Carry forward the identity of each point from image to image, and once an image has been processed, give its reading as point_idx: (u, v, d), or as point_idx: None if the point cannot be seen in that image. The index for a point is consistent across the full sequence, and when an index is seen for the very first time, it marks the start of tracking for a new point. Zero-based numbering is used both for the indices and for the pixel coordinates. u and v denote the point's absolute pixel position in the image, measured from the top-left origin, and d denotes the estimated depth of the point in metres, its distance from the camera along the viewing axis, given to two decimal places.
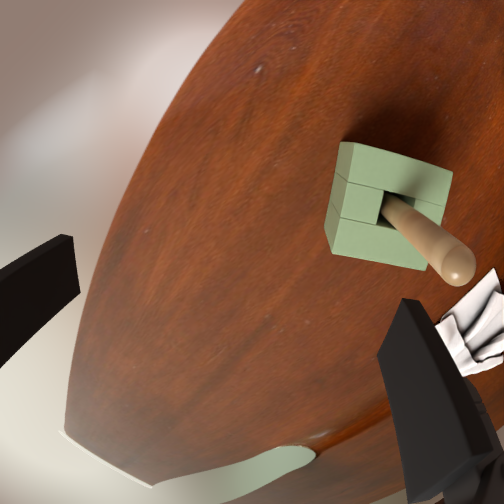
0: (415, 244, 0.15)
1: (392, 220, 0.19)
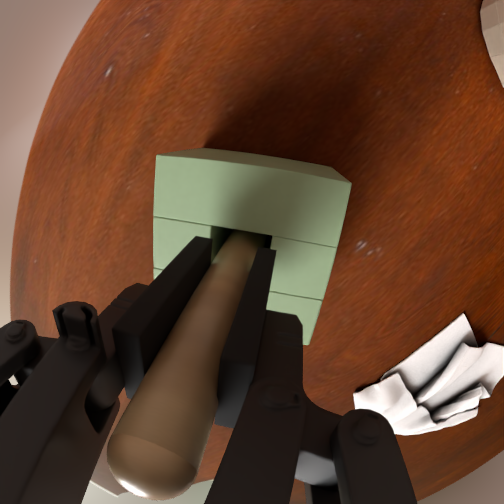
0: None
1: None
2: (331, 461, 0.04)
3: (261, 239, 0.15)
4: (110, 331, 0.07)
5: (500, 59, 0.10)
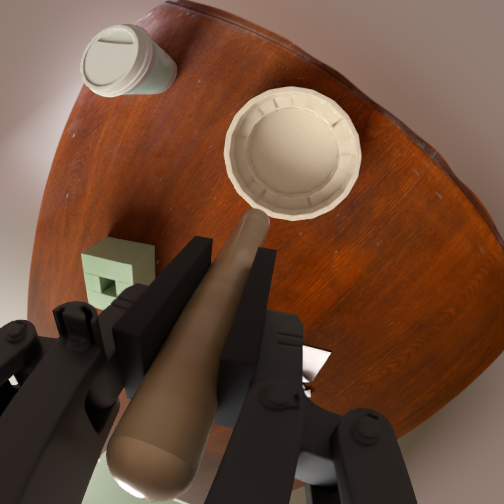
0: None
1: None
2: (331, 461, 0.04)
3: (261, 240, 0.15)
4: (110, 331, 0.07)
5: None
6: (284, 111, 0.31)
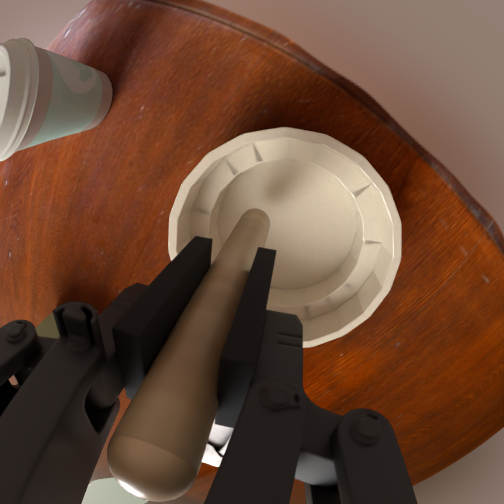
0: None
1: None
2: (331, 461, 0.04)
3: (261, 240, 0.15)
4: (110, 331, 0.07)
5: None
6: (274, 160, 0.20)
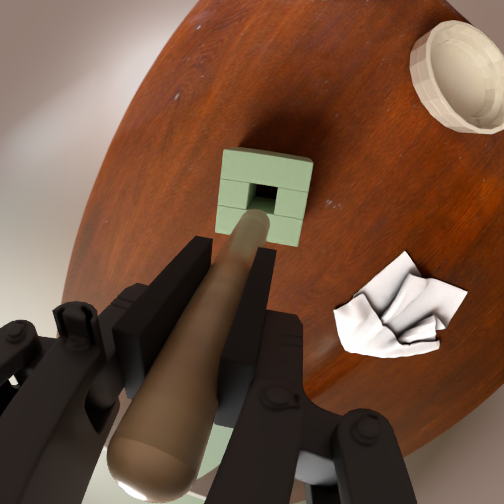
0: None
1: None
2: (331, 461, 0.04)
3: (261, 241, 0.15)
4: (110, 331, 0.07)
5: (418, 86, 0.25)
6: (446, 45, 0.23)
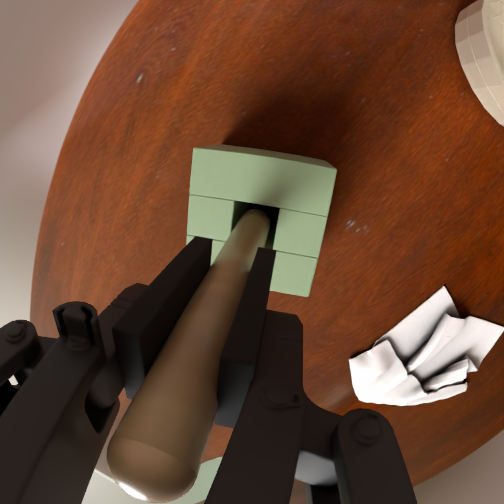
0: None
1: None
2: (331, 461, 0.04)
3: (261, 241, 0.15)
4: (110, 331, 0.07)
5: (469, 67, 0.15)
6: (494, 22, 0.12)
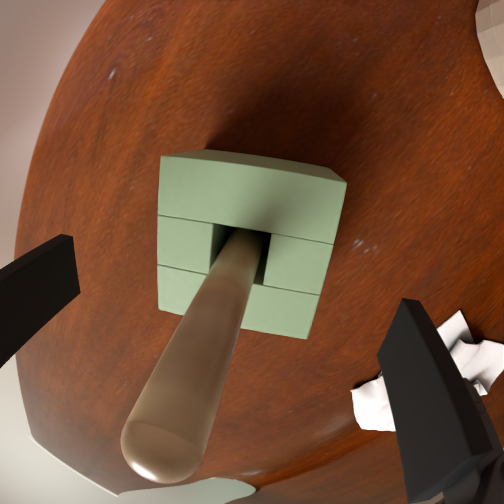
0: None
1: None
2: None
3: (260, 240, 0.16)
4: None
5: (494, 61, 0.11)
6: None
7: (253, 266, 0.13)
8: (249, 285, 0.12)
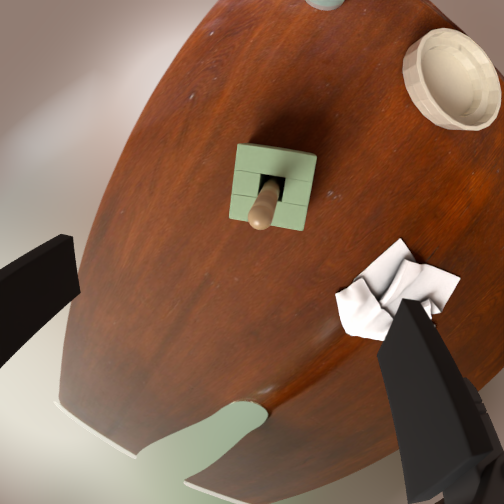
0: None
1: None
2: None
3: (279, 184, 0.34)
4: None
5: (410, 88, 0.29)
6: (437, 50, 0.26)
7: (278, 190, 0.31)
8: (278, 194, 0.30)
